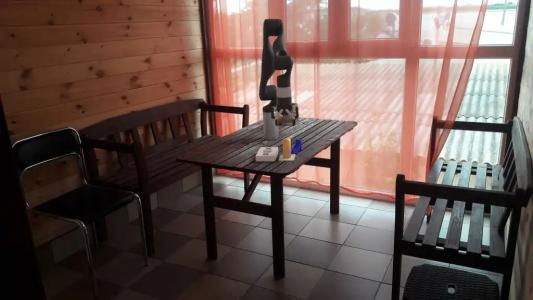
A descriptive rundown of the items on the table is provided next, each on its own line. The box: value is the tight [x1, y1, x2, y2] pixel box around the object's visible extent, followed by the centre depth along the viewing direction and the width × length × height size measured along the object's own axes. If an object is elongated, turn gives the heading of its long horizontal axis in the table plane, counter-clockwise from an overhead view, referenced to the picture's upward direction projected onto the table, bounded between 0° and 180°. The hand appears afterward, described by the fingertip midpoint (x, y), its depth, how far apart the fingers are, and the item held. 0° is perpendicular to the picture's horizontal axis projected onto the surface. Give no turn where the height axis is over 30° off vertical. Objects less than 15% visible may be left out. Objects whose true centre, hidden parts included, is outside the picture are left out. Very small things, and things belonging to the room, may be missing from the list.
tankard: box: [277, 102, 301, 127], centre depth 310 cm, size 20×13×15 cm, turn 84°
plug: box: [282, 137, 292, 158], centre depth 233 cm, size 4×4×10 cm
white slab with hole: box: [255, 146, 279, 162], centre depth 239 cm, size 16×10×3 cm, turn 171°
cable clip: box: [291, 138, 303, 155], centre depth 243 cm, size 12×4×6 cm, turn 140°
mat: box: [278, 153, 296, 162], centre depth 235 cm, size 10×8×1 cm
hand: (285, 126), depth 230 cm, fingers open, 8 cm apart
